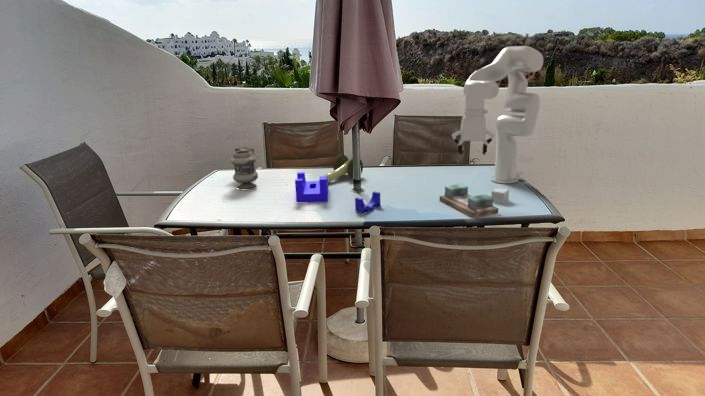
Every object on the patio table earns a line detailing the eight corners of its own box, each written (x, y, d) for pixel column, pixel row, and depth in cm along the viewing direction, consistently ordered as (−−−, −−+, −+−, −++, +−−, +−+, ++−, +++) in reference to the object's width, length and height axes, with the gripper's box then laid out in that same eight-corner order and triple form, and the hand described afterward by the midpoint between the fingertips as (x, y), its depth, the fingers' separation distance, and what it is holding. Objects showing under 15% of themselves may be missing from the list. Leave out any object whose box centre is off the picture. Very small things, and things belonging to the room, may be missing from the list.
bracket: (327, 202, 205) (326, 179, 201) (296, 203, 204) (294, 180, 201) (328, 188, 225) (327, 167, 221) (300, 190, 224) (298, 168, 221)
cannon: (330, 187, 226) (329, 164, 223) (314, 183, 234) (313, 161, 231) (365, 176, 243) (365, 155, 240) (349, 173, 251) (348, 152, 248)
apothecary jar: (233, 185, 235) (229, 150, 229) (257, 182, 238) (253, 148, 233) (235, 192, 224) (230, 155, 218) (260, 189, 227) (256, 152, 222)
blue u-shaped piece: (363, 214, 188) (363, 200, 186) (355, 212, 191) (355, 198, 189) (383, 206, 196) (382, 193, 194) (375, 204, 199) (374, 191, 197)
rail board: (463, 196, 204) (463, 182, 202) (498, 213, 183) (499, 197, 181) (439, 200, 200) (439, 186, 198) (472, 217, 179) (472, 202, 177)
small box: (495, 198, 201) (496, 187, 199) (508, 200, 197) (509, 189, 196) (490, 202, 197) (491, 190, 195) (503, 204, 193) (504, 193, 192)
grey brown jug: (237, 178, 248) (234, 148, 243) (248, 175, 252) (245, 146, 247) (246, 181, 242) (243, 150, 237) (257, 178, 246) (254, 148, 241)
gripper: (494, 111, 193) (491, 152, 199) (451, 112, 195) (450, 152, 200) (497, 114, 186) (494, 156, 191) (453, 114, 188) (452, 156, 193)
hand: (472, 154), depth 196 cm, fingers open, 9 cm apart
